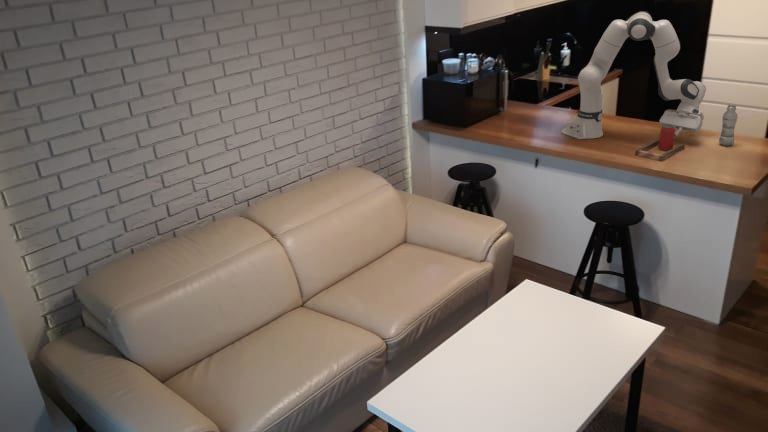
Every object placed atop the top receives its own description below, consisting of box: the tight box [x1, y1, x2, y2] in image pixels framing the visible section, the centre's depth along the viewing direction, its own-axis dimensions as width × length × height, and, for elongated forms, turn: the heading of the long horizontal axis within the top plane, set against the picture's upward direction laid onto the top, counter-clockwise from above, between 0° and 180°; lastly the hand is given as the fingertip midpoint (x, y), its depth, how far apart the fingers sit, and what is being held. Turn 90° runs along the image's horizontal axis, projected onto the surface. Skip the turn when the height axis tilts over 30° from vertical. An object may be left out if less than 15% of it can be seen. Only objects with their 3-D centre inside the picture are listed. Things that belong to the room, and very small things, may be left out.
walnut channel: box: [635, 138, 686, 162], centre depth 305 cm, size 14×22×2 cm, turn 129°
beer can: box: [658, 124, 676, 152], centre depth 306 cm, size 7×7×12 cm
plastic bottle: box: [718, 104, 738, 146], centre depth 301 cm, size 6×7×20 cm
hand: (674, 135), depth 311 cm, fingers closed
